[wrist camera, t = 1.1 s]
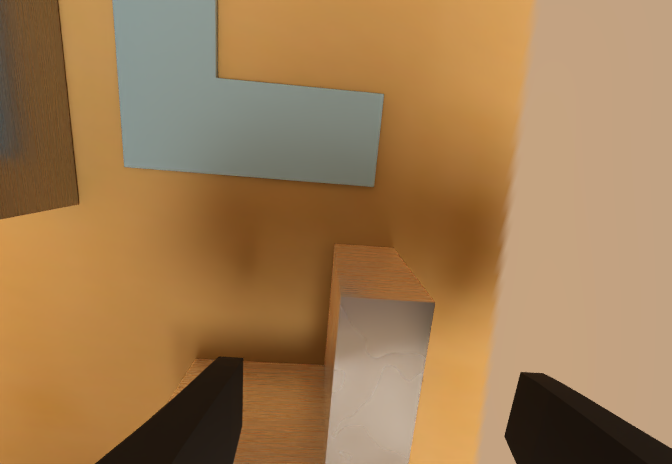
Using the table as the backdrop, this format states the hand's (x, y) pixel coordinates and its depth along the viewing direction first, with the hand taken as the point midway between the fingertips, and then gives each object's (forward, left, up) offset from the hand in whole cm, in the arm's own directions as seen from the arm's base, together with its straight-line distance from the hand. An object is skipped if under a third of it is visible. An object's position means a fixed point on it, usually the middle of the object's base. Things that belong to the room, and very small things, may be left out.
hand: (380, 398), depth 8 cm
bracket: (-1, +3, -5) cm, 6 cm away
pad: (+10, +5, -5) cm, 12 cm away
